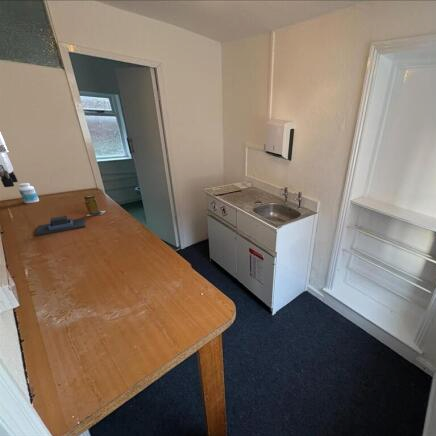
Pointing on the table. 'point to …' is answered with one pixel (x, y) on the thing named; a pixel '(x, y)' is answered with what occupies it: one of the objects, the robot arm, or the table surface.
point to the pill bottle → (28, 193)
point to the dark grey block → (59, 220)
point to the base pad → (60, 227)
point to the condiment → (92, 206)
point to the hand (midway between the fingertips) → (11, 184)
